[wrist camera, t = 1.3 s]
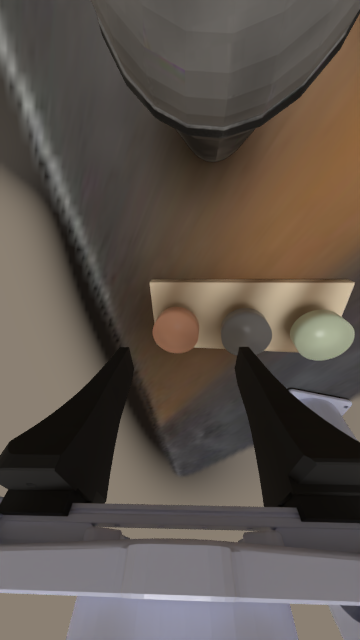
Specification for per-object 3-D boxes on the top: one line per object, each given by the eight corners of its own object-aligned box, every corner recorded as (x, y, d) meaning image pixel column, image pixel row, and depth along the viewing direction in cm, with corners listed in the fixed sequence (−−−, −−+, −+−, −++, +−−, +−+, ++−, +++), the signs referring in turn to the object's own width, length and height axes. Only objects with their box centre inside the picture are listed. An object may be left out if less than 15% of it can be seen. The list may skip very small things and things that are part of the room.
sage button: (345, 305, 18) (363, 318, 15) (329, 345, 20) (343, 361, 18) (292, 305, 18) (303, 317, 16) (282, 343, 20) (291, 359, 18)
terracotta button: (199, 303, 19) (198, 314, 17) (199, 340, 21) (198, 354, 19) (156, 302, 20) (150, 313, 18) (160, 338, 22) (155, 352, 20)
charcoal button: (269, 304, 18) (276, 316, 16) (261, 343, 21) (267, 357, 18) (221, 304, 19) (222, 315, 17) (218, 341, 21) (220, 355, 19)
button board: (348, 279, 18) (355, 282, 18) (321, 348, 22) (326, 353, 21) (152, 279, 21) (149, 282, 20) (158, 341, 25) (157, 345, 24)
